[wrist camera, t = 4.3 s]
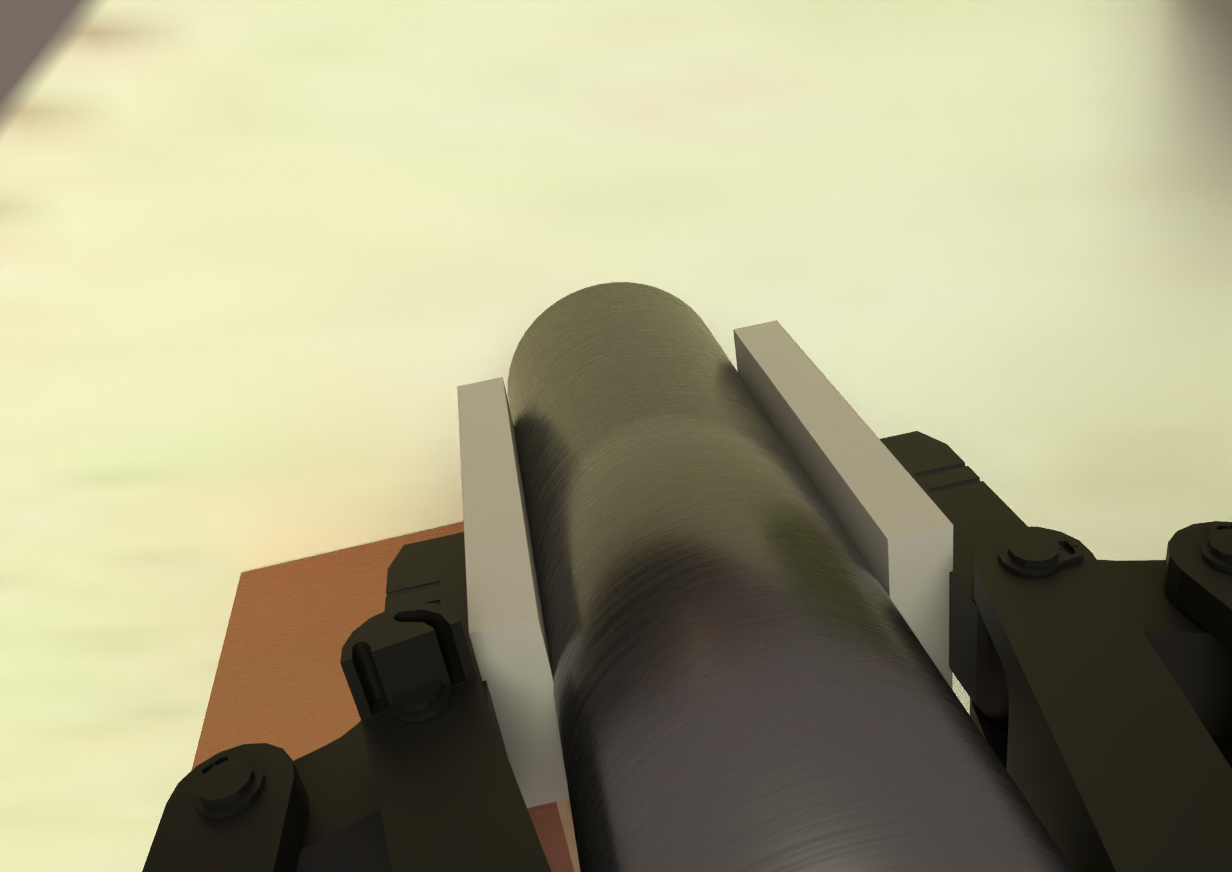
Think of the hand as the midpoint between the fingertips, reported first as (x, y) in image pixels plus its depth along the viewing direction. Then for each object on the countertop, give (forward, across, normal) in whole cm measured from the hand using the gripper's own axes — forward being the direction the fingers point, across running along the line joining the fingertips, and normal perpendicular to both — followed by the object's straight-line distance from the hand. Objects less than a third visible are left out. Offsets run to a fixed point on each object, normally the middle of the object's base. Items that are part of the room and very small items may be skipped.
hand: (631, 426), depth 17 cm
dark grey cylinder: (+2, 0, 0) cm, 2 cm away
